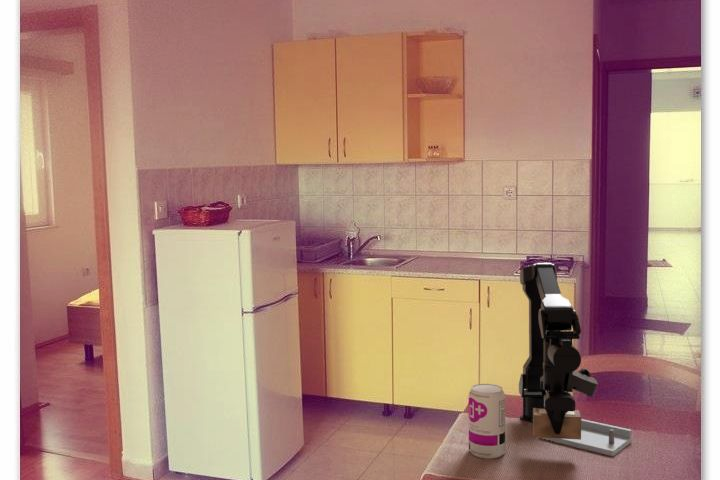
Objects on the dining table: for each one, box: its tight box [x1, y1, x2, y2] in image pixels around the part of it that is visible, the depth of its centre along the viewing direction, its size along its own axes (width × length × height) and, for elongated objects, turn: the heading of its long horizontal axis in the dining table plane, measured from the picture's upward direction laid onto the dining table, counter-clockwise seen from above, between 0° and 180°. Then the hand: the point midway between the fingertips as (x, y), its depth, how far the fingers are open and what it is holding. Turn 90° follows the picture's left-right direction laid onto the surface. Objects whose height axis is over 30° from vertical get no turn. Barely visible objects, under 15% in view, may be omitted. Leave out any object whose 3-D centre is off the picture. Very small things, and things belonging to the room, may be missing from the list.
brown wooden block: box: [532, 408, 582, 440], centre depth 157 cm, size 10×5×5 cm, turn 79°
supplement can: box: [468, 383, 506, 460], centre depth 160 cm, size 8×8×15 cm
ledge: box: [538, 418, 633, 457], centre depth 167 cm, size 18×11×4 cm, turn 49°
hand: (556, 429), depth 158 cm, fingers closed on brown wooden block, 5 cm apart
